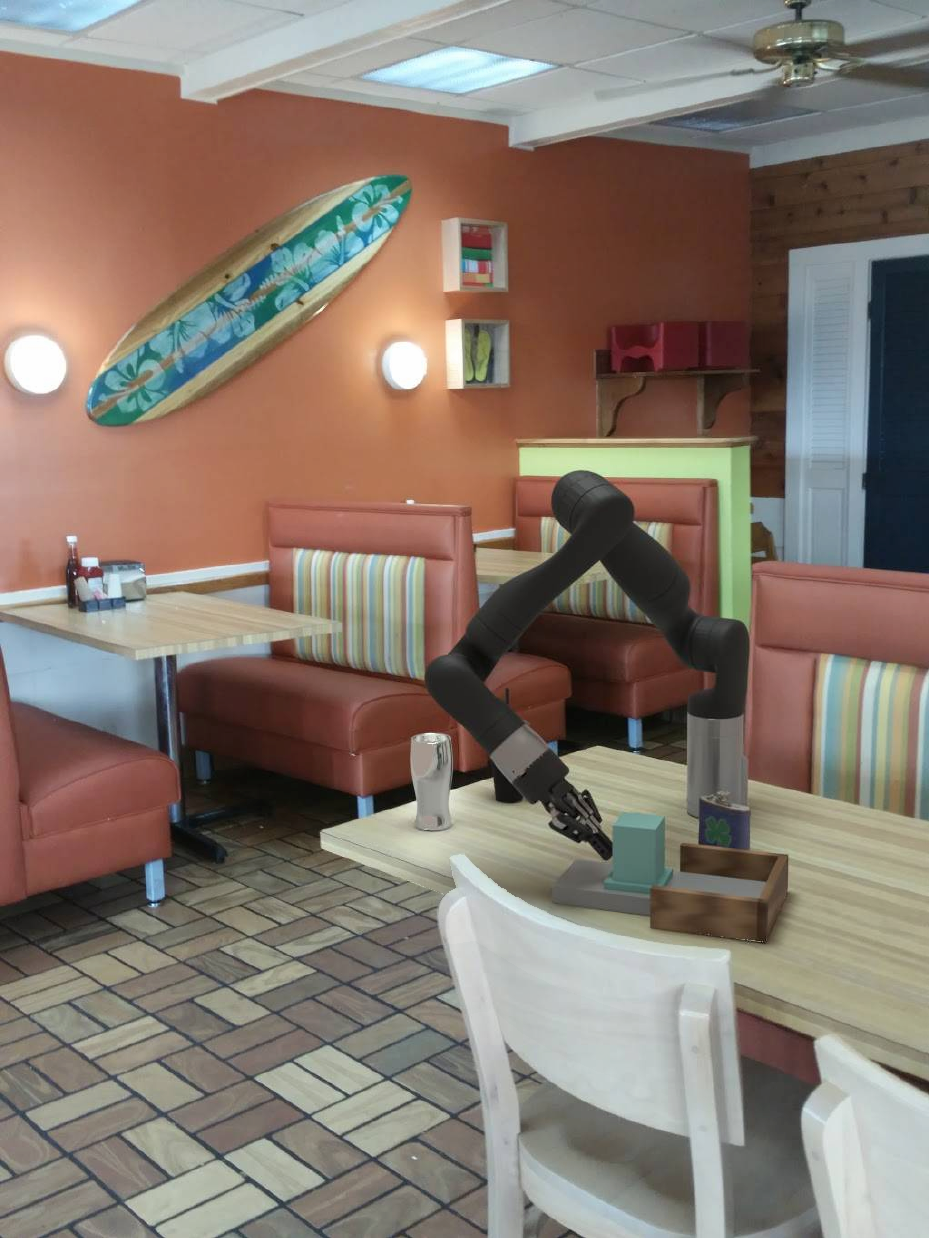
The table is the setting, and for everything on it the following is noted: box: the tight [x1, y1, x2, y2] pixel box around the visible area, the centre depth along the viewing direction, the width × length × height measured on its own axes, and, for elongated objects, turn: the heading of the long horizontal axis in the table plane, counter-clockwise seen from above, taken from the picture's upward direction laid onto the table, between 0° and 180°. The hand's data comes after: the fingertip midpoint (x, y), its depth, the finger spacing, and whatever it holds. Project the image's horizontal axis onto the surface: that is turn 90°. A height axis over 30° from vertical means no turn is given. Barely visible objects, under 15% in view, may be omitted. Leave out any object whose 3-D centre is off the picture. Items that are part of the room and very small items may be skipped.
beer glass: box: [409, 732, 454, 831], centre depth 213 cm, size 7×7×15 cm
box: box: [649, 842, 789, 943], centre depth 176 cm, size 15×18×6 cm
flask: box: [697, 791, 752, 850], centre depth 195 cm, size 9×3×11 cm, turn 40°
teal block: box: [604, 811, 674, 894], centre depth 180 cm, size 8×8×9 cm
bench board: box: [551, 858, 766, 917], centre depth 180 cm, size 28×11×2 cm, turn 68°
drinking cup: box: [490, 687, 531, 804], centre depth 225 cm, size 8×8×20 cm
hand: (612, 855), depth 181 cm, fingers closed
